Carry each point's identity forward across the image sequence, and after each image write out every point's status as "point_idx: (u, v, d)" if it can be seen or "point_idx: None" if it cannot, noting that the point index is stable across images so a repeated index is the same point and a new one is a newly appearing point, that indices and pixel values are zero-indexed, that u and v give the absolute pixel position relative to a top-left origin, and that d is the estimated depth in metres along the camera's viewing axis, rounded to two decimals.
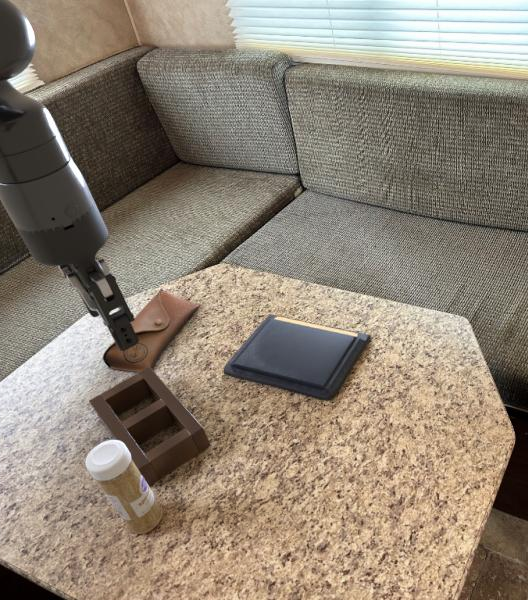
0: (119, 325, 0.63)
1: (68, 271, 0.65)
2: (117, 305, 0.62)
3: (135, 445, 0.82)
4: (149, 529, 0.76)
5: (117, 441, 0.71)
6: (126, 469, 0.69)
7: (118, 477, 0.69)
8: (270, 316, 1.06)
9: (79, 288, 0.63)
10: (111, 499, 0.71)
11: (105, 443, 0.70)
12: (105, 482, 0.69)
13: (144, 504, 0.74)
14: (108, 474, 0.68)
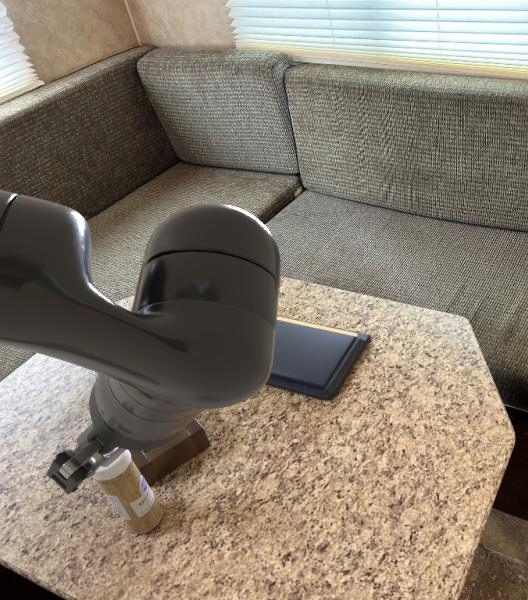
0: (54, 480, 0.49)
1: None
2: (63, 482, 0.47)
3: None
4: (149, 529, 0.76)
5: None
6: (126, 469, 0.69)
7: (118, 477, 0.69)
8: None
9: None
10: (111, 499, 0.71)
11: None
12: (105, 482, 0.69)
13: (144, 504, 0.74)
14: (108, 474, 0.68)
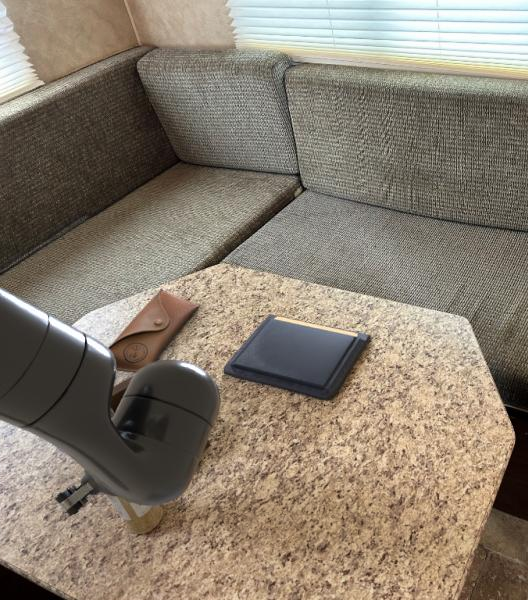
0: None
1: None
2: None
3: None
4: (149, 529, 0.76)
5: None
6: None
7: None
8: (270, 316, 1.06)
9: None
10: (111, 499, 0.71)
11: None
12: None
13: None
14: None
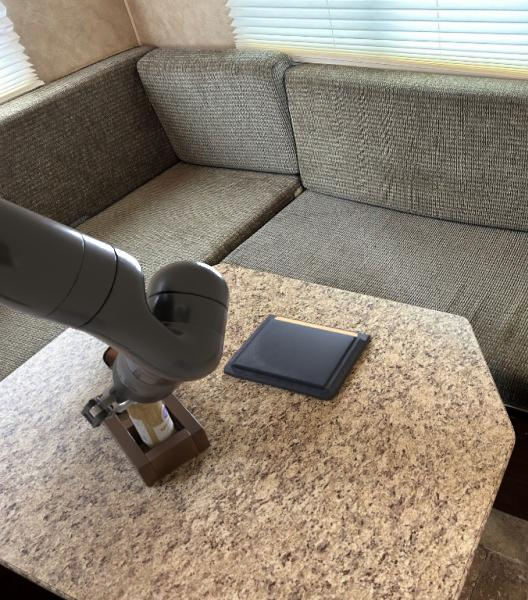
0: None
1: None
2: (91, 419, 0.70)
3: (135, 445, 0.82)
4: None
5: None
6: None
7: None
8: (270, 316, 1.06)
9: None
10: (136, 423, 0.80)
11: None
12: (132, 406, 0.78)
13: (165, 430, 0.82)
14: None
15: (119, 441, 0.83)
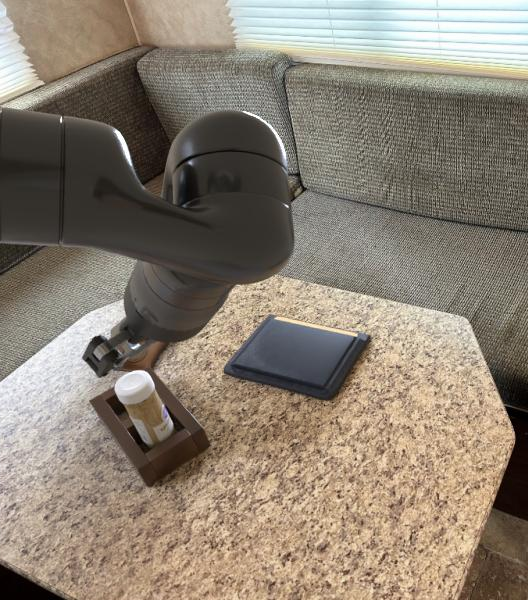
0: (88, 364, 0.56)
1: None
2: (96, 364, 0.54)
3: (135, 445, 0.82)
4: None
5: (142, 371, 0.79)
6: (150, 395, 0.78)
7: (143, 402, 0.78)
8: (270, 316, 1.06)
9: None
10: (136, 423, 0.80)
11: (131, 373, 0.79)
12: (132, 406, 0.78)
13: (165, 430, 0.82)
14: (135, 398, 0.77)
15: (119, 441, 0.83)
